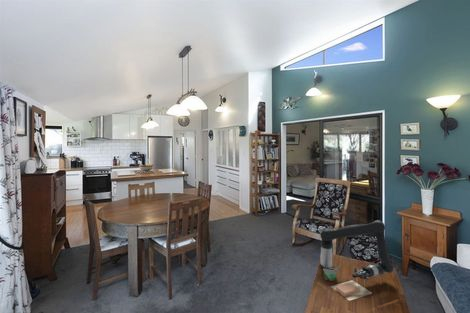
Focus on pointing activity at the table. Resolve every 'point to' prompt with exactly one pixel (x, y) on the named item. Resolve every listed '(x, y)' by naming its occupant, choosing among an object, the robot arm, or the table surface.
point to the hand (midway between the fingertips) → (353, 276)
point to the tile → (347, 289)
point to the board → (356, 295)
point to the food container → (330, 273)
